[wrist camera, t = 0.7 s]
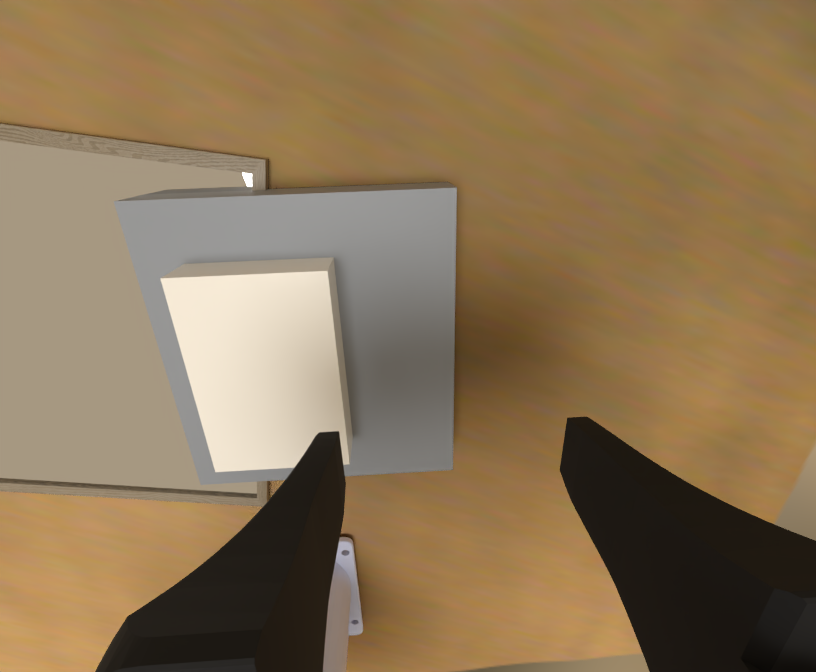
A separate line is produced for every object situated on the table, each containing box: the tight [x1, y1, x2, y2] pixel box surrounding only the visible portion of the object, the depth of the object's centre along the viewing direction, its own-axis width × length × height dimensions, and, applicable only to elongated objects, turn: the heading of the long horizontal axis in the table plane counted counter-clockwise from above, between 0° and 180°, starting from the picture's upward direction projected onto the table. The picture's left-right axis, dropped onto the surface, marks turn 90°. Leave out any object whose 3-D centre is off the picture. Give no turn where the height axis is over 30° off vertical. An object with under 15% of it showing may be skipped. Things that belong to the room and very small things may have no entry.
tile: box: [160, 257, 353, 472], centre depth 18 cm, size 9×6×2 cm, turn 2°
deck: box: [114, 182, 457, 485], centre depth 20 cm, size 14×13×2 cm
